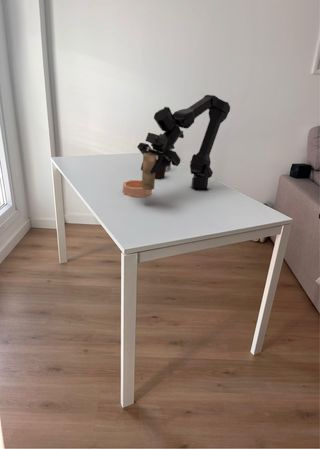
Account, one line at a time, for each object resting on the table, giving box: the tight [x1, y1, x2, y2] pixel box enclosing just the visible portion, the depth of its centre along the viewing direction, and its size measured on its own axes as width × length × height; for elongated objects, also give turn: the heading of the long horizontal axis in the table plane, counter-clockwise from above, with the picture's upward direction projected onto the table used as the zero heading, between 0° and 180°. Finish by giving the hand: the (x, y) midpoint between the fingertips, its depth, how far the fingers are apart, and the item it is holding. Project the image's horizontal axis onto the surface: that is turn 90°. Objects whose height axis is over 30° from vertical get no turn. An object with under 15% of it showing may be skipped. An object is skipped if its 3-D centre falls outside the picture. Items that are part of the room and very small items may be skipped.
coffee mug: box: [155, 156, 167, 180], centre depth 160 cm, size 12×9×10 cm
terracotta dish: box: [122, 179, 153, 198], centre depth 138 cm, size 12×12×4 cm
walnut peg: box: [141, 153, 156, 191], centre depth 121 cm, size 5×5×13 cm
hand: (146, 171), depth 120 cm, fingers closed on walnut peg, 5 cm apart
